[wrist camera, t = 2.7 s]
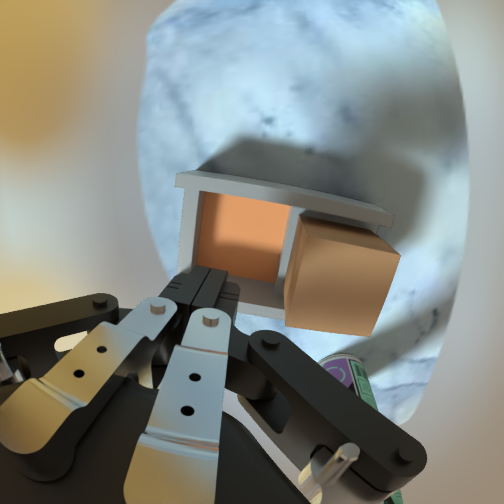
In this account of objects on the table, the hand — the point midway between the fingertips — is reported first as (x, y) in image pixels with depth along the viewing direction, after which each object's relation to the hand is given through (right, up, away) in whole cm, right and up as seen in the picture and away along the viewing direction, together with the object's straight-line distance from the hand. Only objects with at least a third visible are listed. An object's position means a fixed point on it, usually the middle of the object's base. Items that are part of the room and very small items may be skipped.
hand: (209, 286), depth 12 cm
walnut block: (+7, +1, +6) cm, 9 cm away
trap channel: (+4, +2, +7) cm, 9 cm away
